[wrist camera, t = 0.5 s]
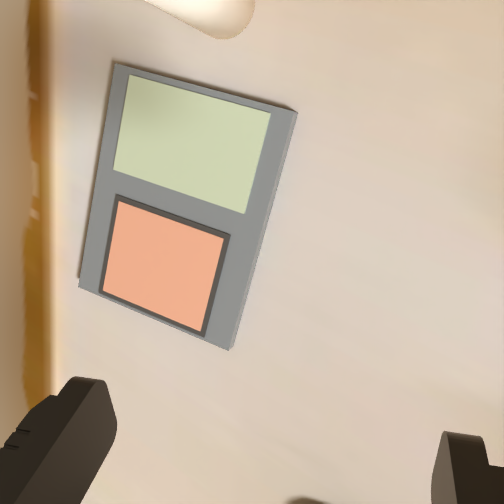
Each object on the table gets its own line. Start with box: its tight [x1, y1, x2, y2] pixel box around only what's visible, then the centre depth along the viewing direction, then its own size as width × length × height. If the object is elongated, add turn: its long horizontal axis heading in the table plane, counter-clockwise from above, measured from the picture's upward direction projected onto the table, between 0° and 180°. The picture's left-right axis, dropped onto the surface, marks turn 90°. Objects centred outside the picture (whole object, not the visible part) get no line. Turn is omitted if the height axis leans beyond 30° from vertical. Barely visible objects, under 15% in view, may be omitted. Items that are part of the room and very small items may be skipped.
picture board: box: [78, 63, 298, 351], centre depth 36 cm, size 18×14×1 cm
